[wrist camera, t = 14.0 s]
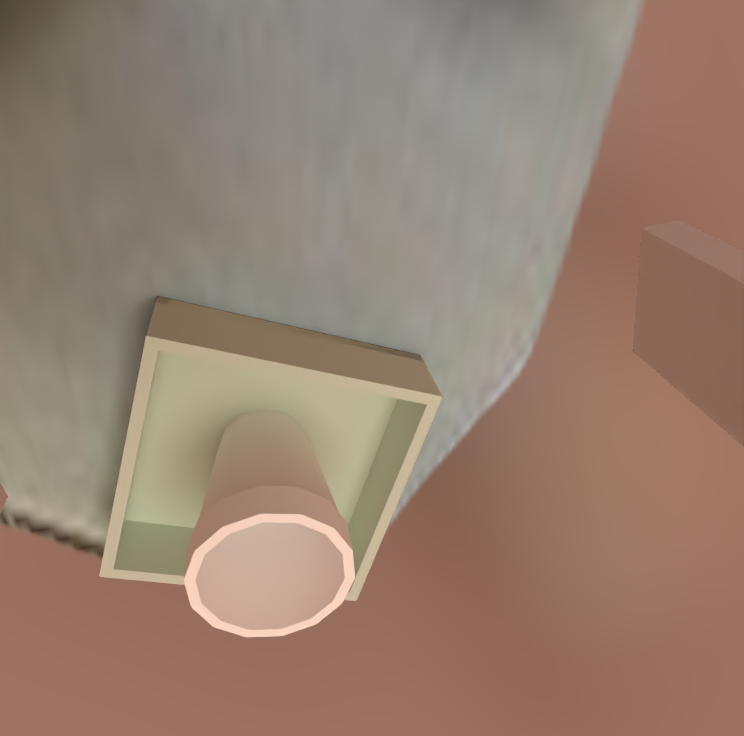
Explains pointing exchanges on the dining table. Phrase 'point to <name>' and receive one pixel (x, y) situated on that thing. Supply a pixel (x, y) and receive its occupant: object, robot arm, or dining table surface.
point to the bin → (248, 393)
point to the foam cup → (267, 533)
